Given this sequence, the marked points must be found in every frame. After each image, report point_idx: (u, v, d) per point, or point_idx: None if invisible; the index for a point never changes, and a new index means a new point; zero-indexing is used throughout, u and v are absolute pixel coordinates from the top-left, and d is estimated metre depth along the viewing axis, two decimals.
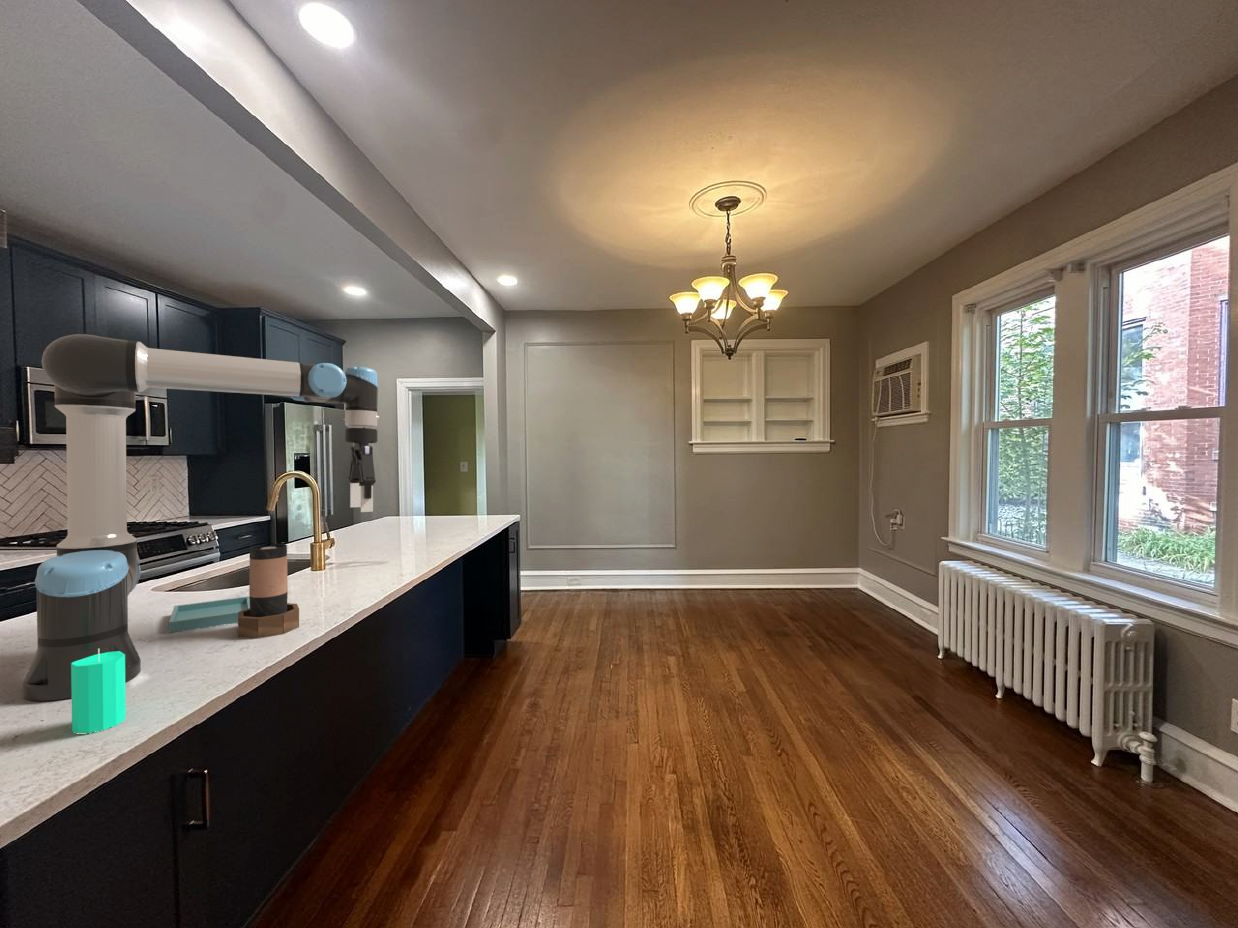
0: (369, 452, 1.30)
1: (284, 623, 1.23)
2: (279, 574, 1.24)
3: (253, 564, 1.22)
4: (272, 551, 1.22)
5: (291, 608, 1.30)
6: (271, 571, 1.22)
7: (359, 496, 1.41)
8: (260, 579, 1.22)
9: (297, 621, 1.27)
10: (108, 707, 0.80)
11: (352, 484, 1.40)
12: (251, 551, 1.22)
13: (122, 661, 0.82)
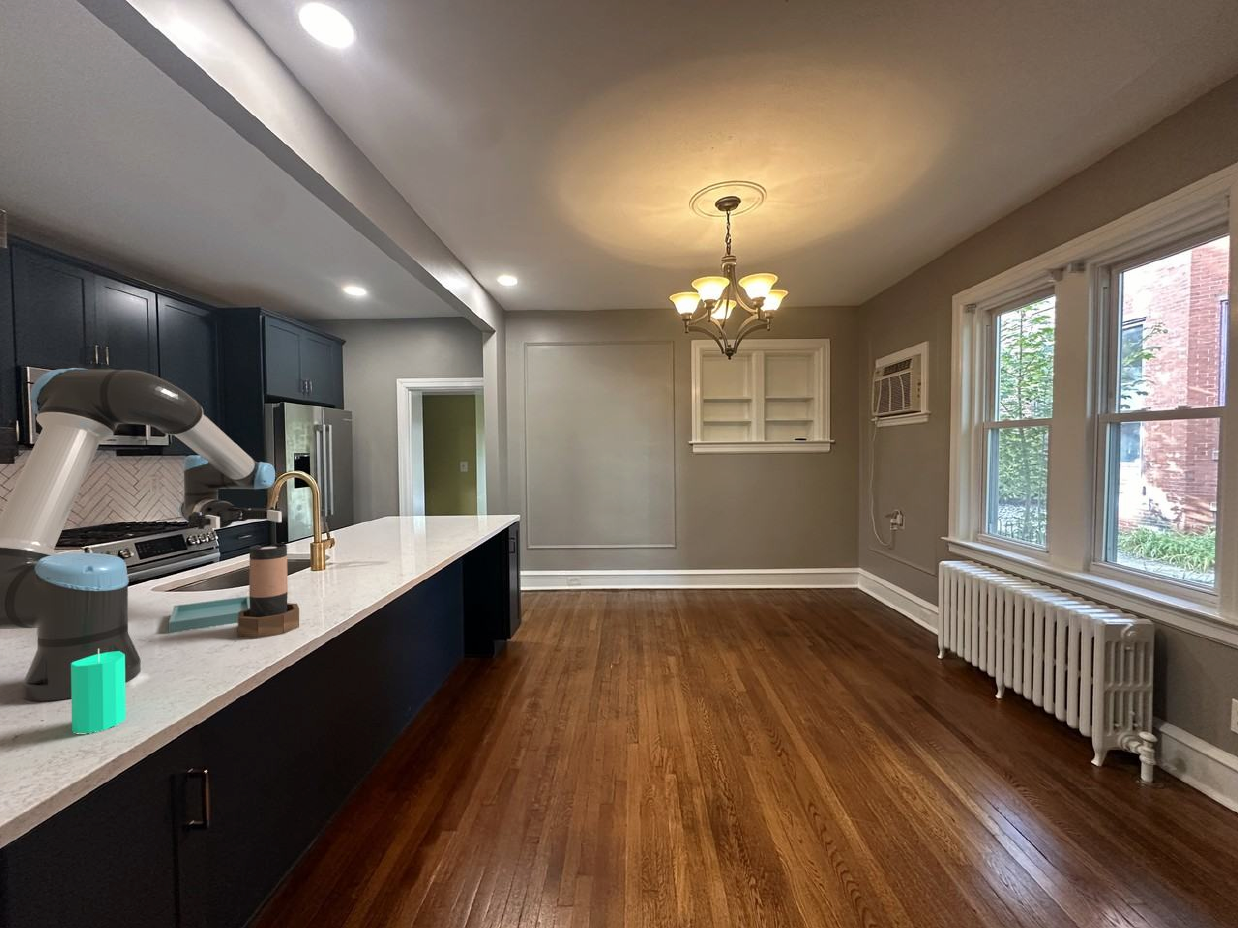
0: None
1: (284, 623, 1.23)
2: (279, 574, 1.24)
3: (253, 564, 1.22)
4: (272, 551, 1.22)
5: (291, 608, 1.30)
6: (271, 571, 1.22)
7: None
8: (260, 579, 1.22)
9: (297, 621, 1.27)
10: (108, 707, 0.80)
11: None
12: (251, 551, 1.22)
13: (122, 661, 0.82)
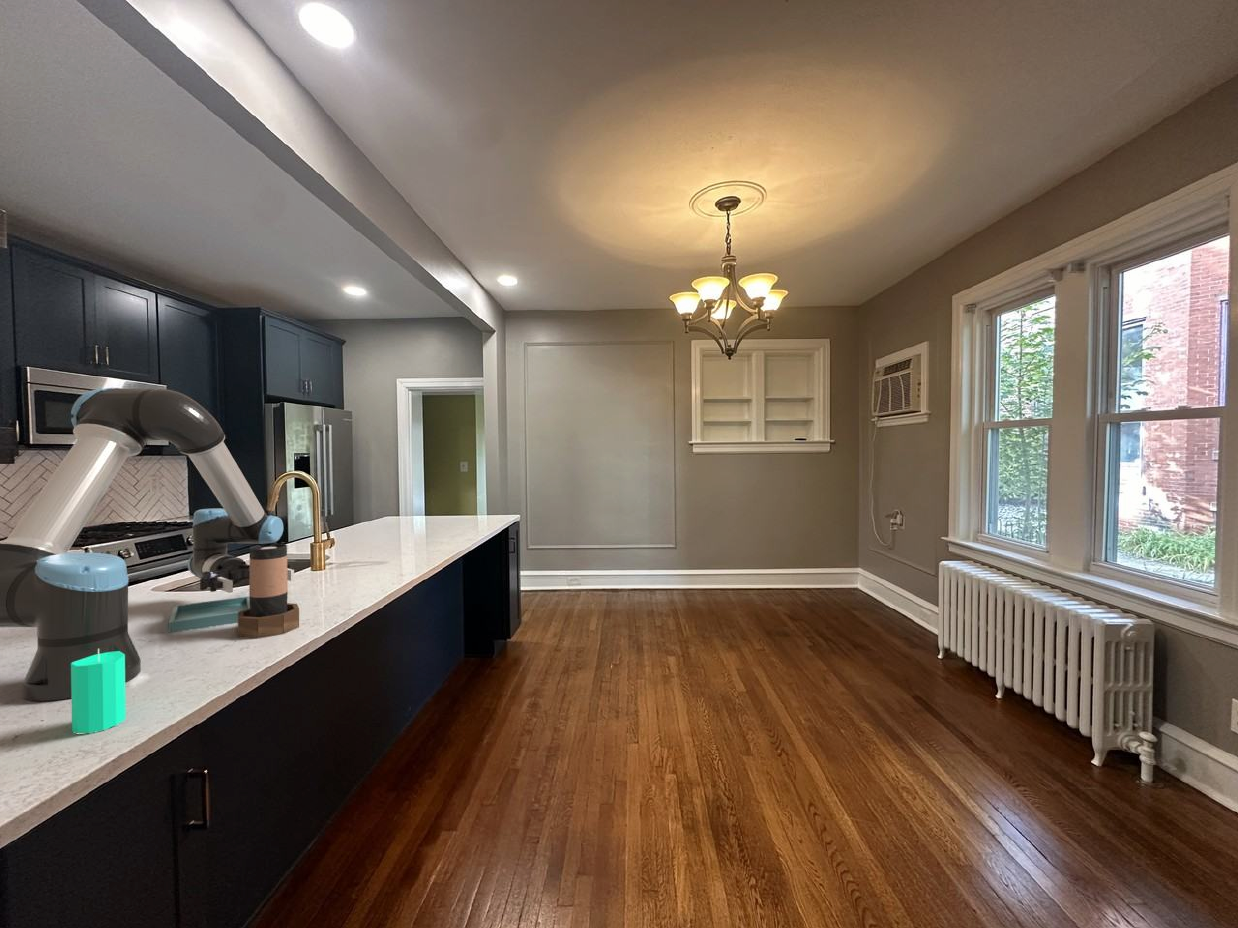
0: None
1: (284, 623, 1.23)
2: (279, 574, 1.24)
3: (253, 564, 1.22)
4: (272, 551, 1.22)
5: (291, 608, 1.30)
6: (271, 571, 1.22)
7: None
8: (260, 579, 1.22)
9: (297, 621, 1.27)
10: (108, 707, 0.80)
11: None
12: (251, 551, 1.22)
13: (122, 661, 0.82)
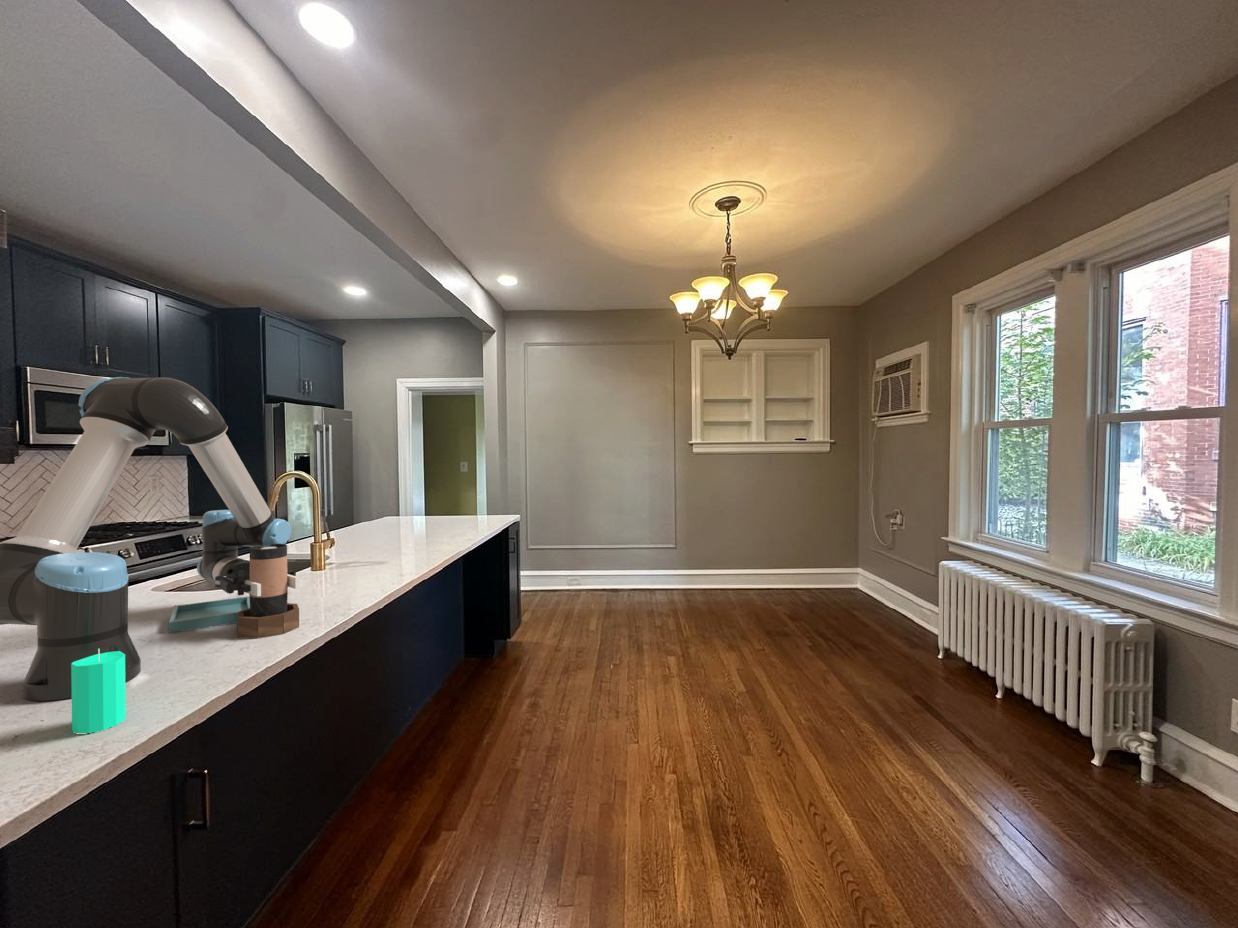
0: None
1: (284, 623, 1.23)
2: (279, 574, 1.24)
3: (253, 564, 1.22)
4: (272, 551, 1.22)
5: (291, 608, 1.30)
6: (271, 571, 1.22)
7: None
8: (260, 579, 1.22)
9: (297, 621, 1.27)
10: (109, 707, 0.80)
11: None
12: (251, 551, 1.22)
13: (122, 661, 0.82)
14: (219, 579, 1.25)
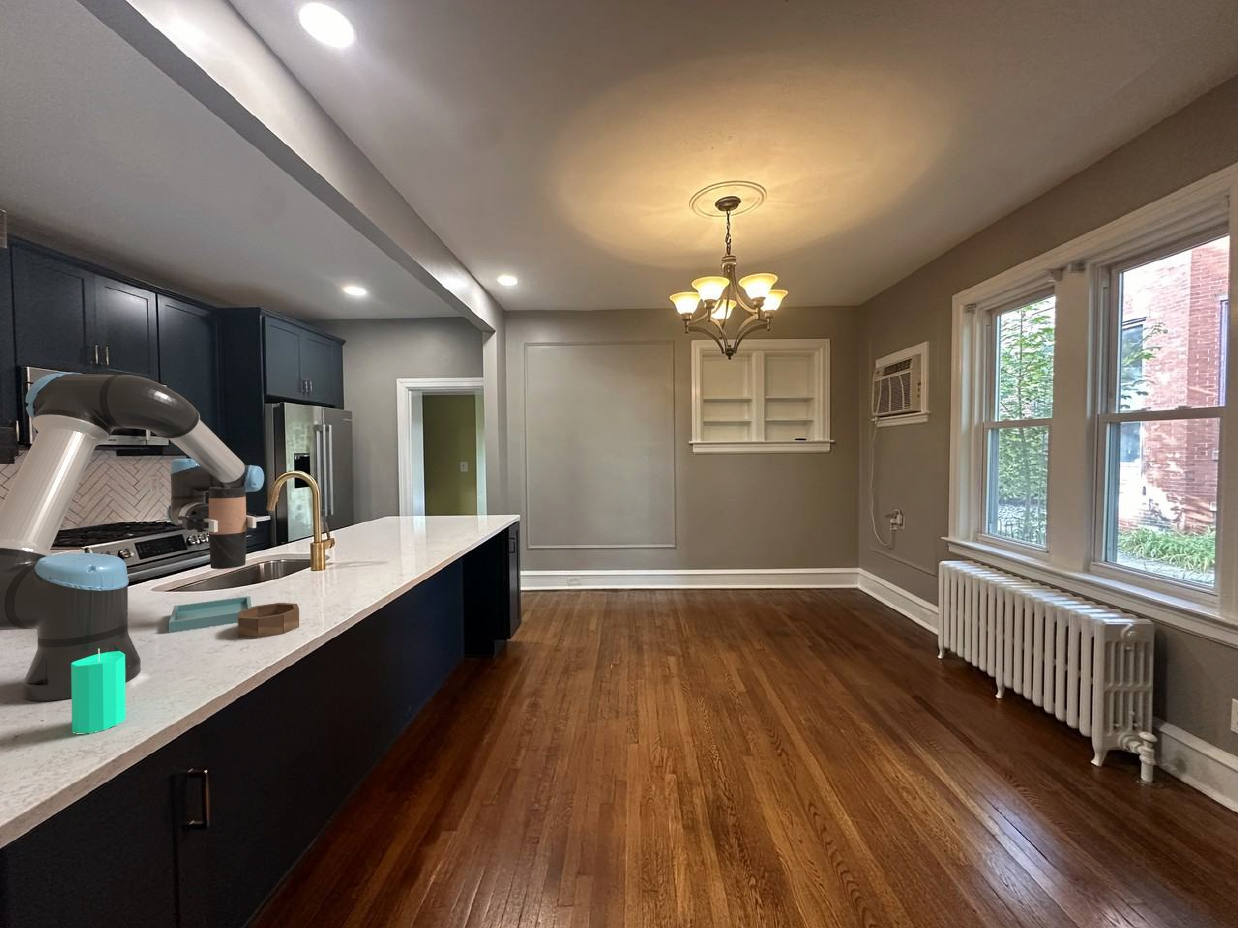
0: None
1: (284, 623, 1.23)
2: (237, 513, 1.30)
3: (211, 503, 1.28)
4: (229, 491, 1.29)
5: (291, 608, 1.30)
6: (228, 510, 1.29)
7: None
8: (218, 517, 1.28)
9: (297, 621, 1.27)
10: (109, 707, 0.80)
11: None
12: (209, 490, 1.28)
13: (122, 661, 0.82)
14: (181, 518, 1.32)
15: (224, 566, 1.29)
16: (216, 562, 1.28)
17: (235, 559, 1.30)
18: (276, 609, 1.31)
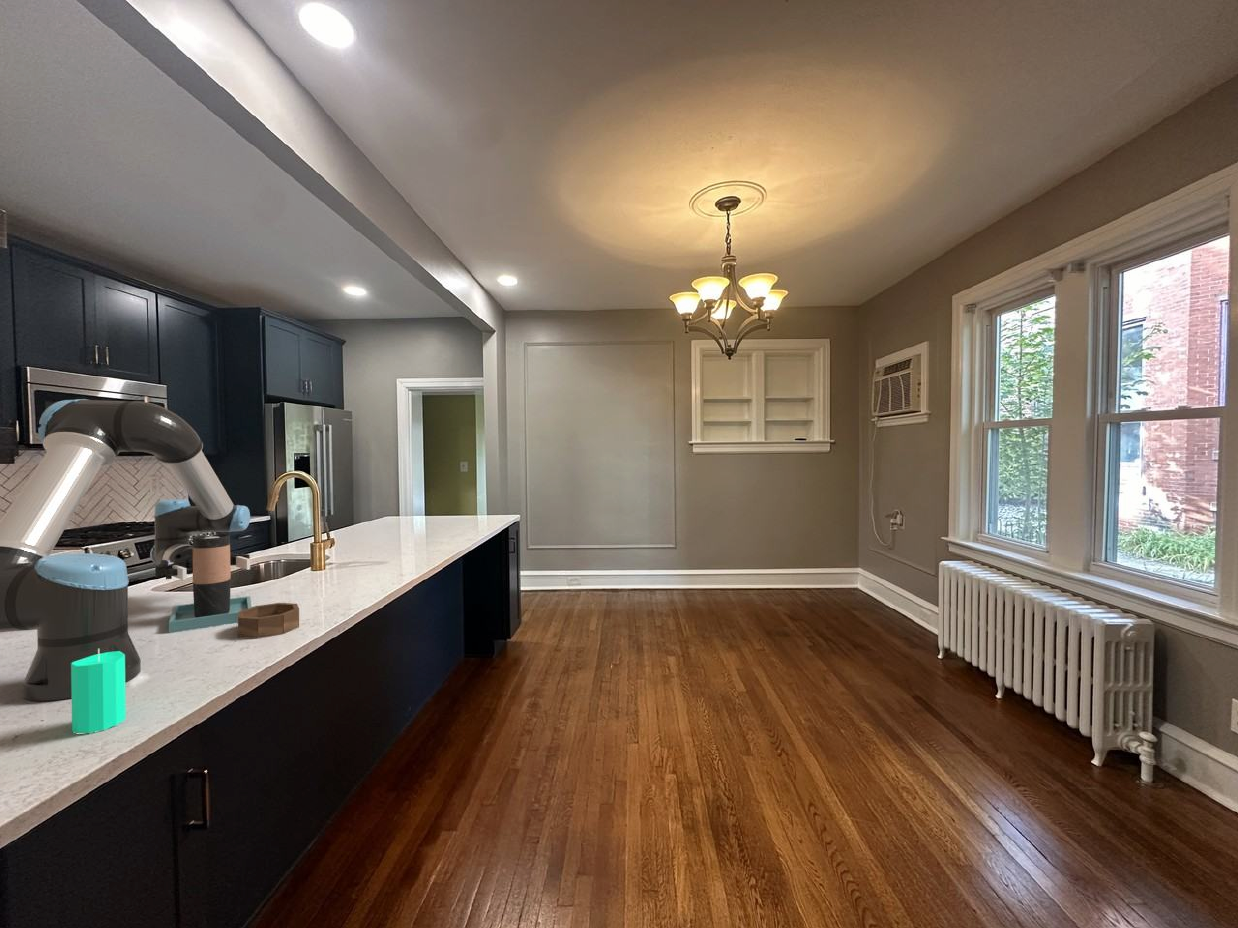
0: None
1: (284, 623, 1.23)
2: (221, 562, 1.32)
3: (195, 553, 1.29)
4: (214, 540, 1.30)
5: (291, 608, 1.30)
6: (213, 559, 1.30)
7: None
8: (202, 567, 1.29)
9: (297, 621, 1.27)
10: (109, 707, 0.80)
11: None
12: (194, 540, 1.29)
13: (122, 661, 0.82)
14: None
15: (208, 615, 1.30)
16: (200, 612, 1.30)
17: (219, 608, 1.31)
18: (276, 609, 1.31)
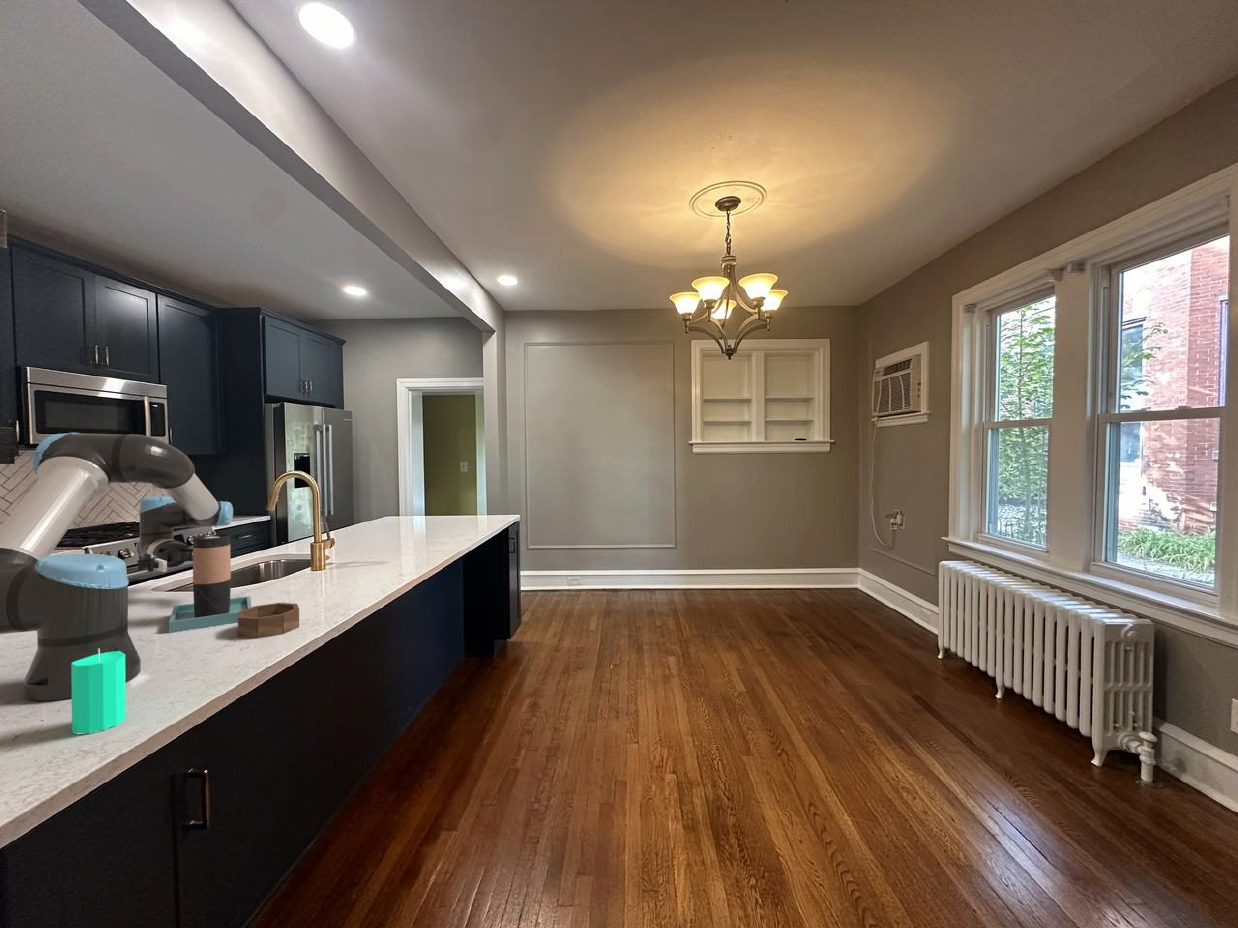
0: None
1: (284, 623, 1.23)
2: (222, 562, 1.32)
3: (196, 552, 1.29)
4: (214, 540, 1.30)
5: (291, 608, 1.30)
6: (213, 559, 1.30)
7: None
8: (203, 567, 1.29)
9: (297, 621, 1.27)
10: (109, 707, 0.80)
11: None
12: (194, 540, 1.30)
13: (122, 661, 0.82)
14: None
15: (208, 615, 1.30)
16: (200, 611, 1.30)
17: (219, 608, 1.31)
18: (276, 609, 1.31)
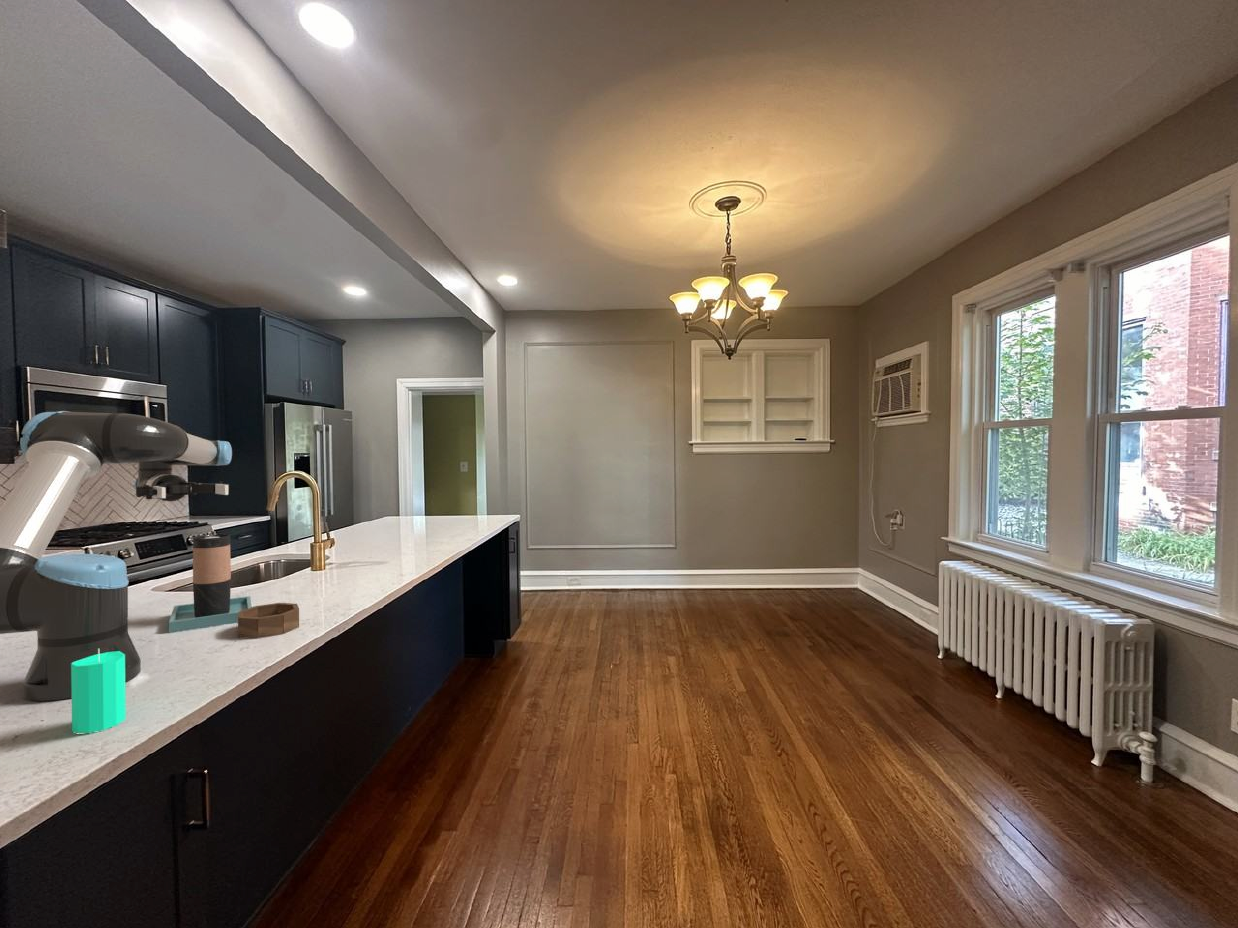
0: None
1: (284, 623, 1.23)
2: (221, 562, 1.32)
3: (196, 553, 1.29)
4: (214, 540, 1.30)
5: (291, 608, 1.30)
6: (213, 559, 1.30)
7: None
8: (203, 567, 1.29)
9: (297, 621, 1.27)
10: (109, 707, 0.80)
11: None
12: (194, 540, 1.30)
13: (122, 661, 0.82)
14: None
15: (208, 615, 1.30)
16: (200, 611, 1.30)
17: (219, 608, 1.31)
18: (276, 609, 1.31)
